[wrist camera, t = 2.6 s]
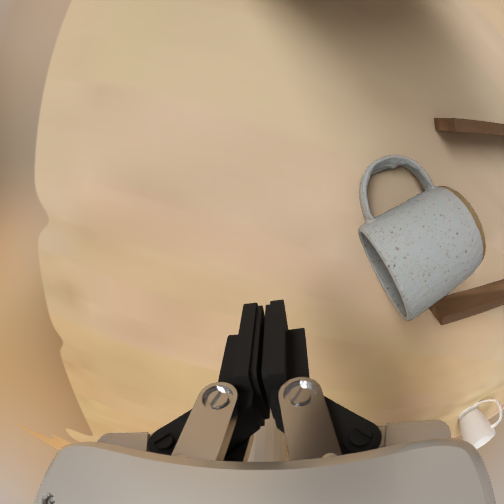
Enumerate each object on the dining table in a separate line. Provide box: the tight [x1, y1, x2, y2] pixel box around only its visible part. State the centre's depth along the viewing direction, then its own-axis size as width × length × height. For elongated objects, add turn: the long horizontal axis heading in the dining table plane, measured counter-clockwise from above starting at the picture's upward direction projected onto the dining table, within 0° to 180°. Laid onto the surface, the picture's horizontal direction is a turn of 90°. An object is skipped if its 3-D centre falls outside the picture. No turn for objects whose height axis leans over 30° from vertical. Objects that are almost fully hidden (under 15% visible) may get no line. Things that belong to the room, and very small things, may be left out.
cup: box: [458, 399, 503, 450], centre depth 28 cm, size 7×10×8 cm
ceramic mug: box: [359, 155, 486, 321], centre depth 17 cm, size 11×8×8 cm
